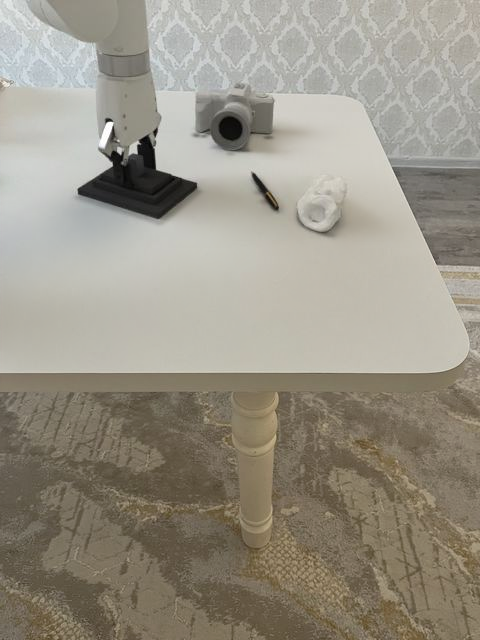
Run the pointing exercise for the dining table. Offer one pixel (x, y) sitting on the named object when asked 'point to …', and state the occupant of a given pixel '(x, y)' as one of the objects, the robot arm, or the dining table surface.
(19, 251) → the dining table surface
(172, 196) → the base pad
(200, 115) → the digital camera
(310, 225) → the white hollow lump
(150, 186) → the black lid with knob
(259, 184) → the fountain pen
